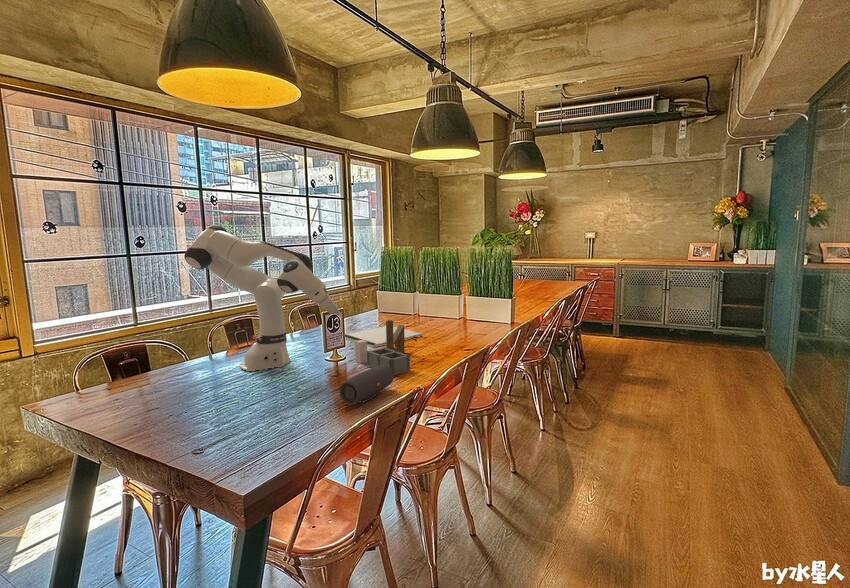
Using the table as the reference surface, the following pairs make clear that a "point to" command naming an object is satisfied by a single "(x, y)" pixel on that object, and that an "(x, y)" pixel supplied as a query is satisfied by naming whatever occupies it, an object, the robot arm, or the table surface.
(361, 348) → the clay bar
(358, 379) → the bluetooth speaker
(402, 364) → the grey cinder block
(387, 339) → the wooden block
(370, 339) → the white flat board
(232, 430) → the table surface
